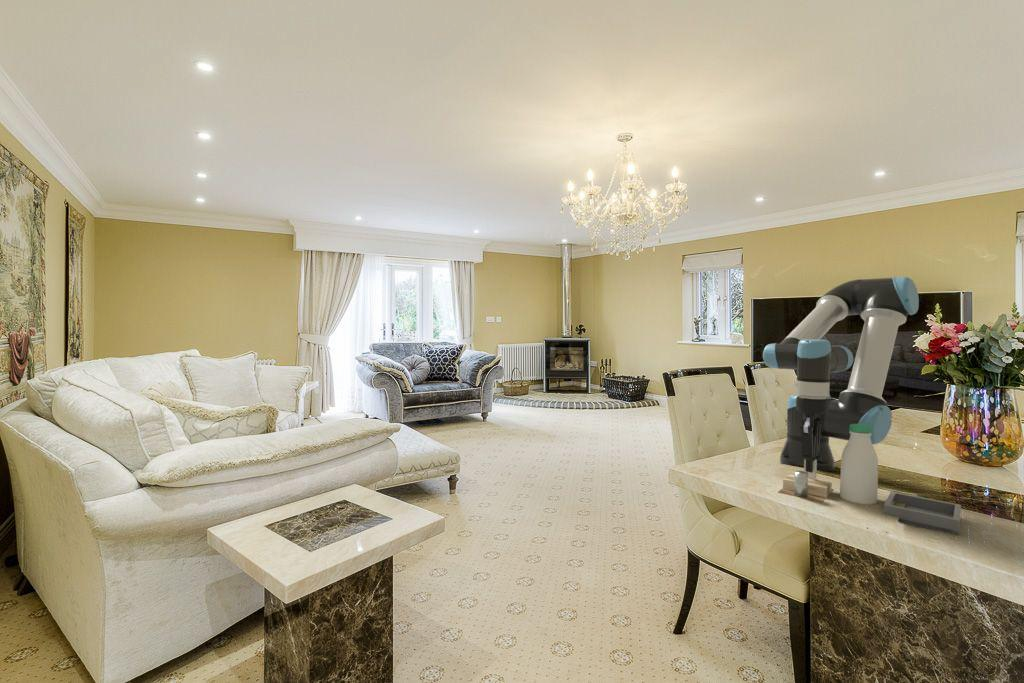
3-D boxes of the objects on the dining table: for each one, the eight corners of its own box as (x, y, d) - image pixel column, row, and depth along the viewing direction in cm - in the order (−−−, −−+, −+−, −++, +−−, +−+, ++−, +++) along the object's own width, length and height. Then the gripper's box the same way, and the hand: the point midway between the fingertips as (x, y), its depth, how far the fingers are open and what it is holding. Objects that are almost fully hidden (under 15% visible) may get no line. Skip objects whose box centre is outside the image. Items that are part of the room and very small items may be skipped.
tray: (890, 503, 123) (891, 491, 123) (960, 518, 114) (960, 504, 114) (883, 518, 114) (883, 504, 114) (958, 535, 105) (959, 520, 105)
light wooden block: (789, 483, 135) (789, 474, 135) (831, 492, 128) (831, 482, 128) (782, 488, 131) (783, 479, 131) (826, 497, 124) (826, 488, 124)
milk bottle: (883, 510, 119) (886, 429, 118) (848, 507, 120) (850, 427, 120) (867, 499, 126) (869, 422, 126) (834, 496, 128) (836, 421, 127)
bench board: (791, 484, 137) (792, 480, 137) (833, 493, 130) (833, 489, 130) (777, 496, 128) (777, 492, 128) (821, 506, 121) (821, 502, 121)
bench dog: (795, 492, 127) (796, 470, 127) (808, 495, 125) (809, 472, 125) (792, 495, 125) (793, 472, 125) (805, 498, 123) (806, 475, 123)
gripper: (802, 392, 138) (800, 474, 139) (790, 397, 129) (787, 485, 130) (833, 395, 133) (831, 480, 134) (823, 401, 124) (820, 492, 125)
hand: (809, 482), depth 132 cm, fingers closed
